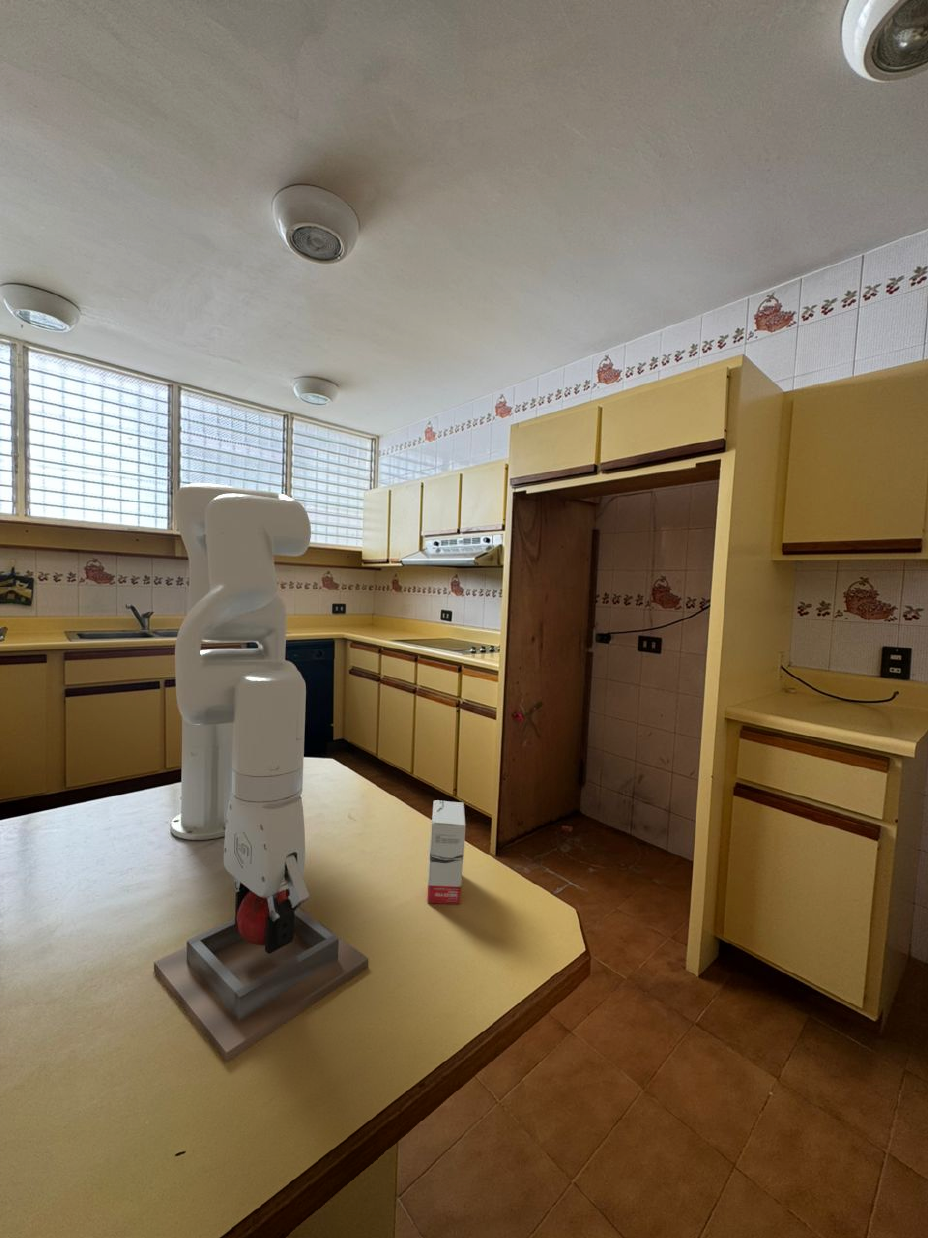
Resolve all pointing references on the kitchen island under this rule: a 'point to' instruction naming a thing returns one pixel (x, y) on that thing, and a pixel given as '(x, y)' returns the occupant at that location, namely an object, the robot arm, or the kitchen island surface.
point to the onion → (255, 917)
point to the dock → (255, 980)
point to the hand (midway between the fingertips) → (263, 931)
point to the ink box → (446, 852)
